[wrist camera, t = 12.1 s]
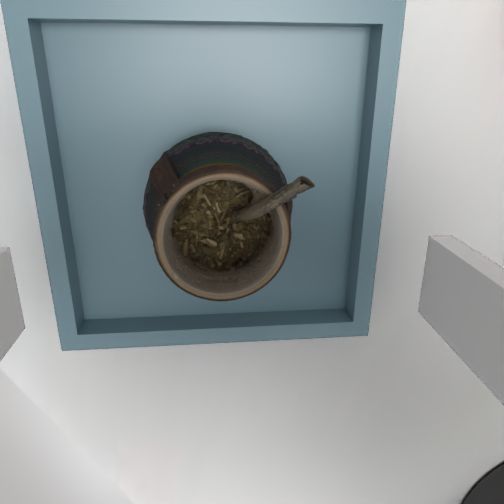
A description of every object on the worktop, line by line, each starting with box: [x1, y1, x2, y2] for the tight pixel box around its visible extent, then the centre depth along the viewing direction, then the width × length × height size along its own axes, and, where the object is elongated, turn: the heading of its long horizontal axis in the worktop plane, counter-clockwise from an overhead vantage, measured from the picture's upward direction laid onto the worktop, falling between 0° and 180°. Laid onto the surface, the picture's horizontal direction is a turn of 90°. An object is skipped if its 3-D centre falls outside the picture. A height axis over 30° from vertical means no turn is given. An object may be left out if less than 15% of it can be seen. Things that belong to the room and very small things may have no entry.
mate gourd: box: [142, 132, 315, 302], centre depth 21 cm, size 7×8×10 cm
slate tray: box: [0, 0, 406, 351], centre depth 25 cm, size 18×18×2 cm
